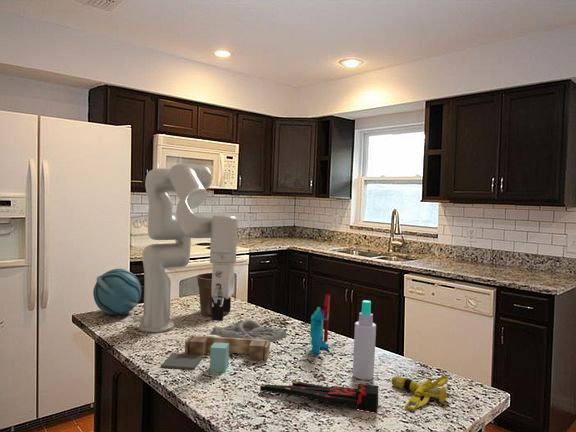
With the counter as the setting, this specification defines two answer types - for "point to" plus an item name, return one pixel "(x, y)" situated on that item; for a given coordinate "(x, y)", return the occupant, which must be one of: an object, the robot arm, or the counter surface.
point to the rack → (236, 345)
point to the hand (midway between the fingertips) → (221, 315)
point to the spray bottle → (364, 344)
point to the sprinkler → (422, 390)
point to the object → (206, 293)
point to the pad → (182, 361)
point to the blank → (219, 357)
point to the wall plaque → (250, 331)
